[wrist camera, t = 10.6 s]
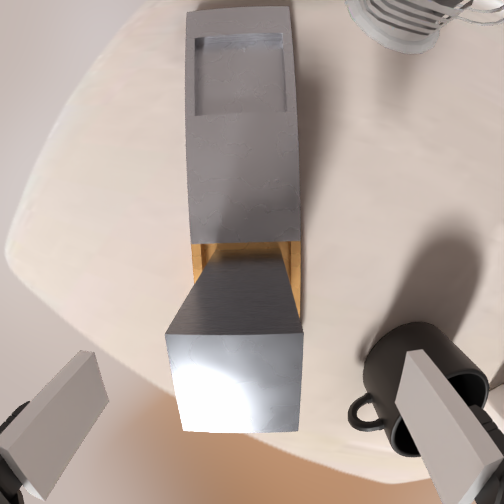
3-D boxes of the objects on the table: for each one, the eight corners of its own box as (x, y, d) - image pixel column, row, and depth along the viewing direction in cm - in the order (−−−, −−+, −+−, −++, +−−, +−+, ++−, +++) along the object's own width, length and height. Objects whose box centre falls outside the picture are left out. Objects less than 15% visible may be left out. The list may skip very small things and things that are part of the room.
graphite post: (280, 248, 24) (303, 333, 11) (280, 308, 26) (298, 431, 12) (215, 250, 25) (164, 334, 11) (219, 309, 26) (183, 430, 12)
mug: (326, 352, 27) (349, 417, 18) (441, 305, 26) (493, 349, 17) (346, 419, 29) (365, 482, 20) (445, 377, 28) (484, 426, 19)
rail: (287, 17, 21) (289, 6, 19) (296, 341, 27) (298, 352, 25) (191, 22, 21) (186, 12, 19) (205, 342, 27) (201, 354, 25)
